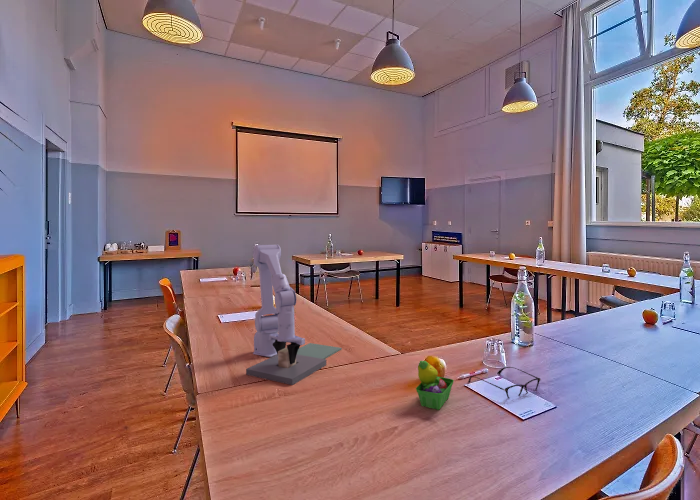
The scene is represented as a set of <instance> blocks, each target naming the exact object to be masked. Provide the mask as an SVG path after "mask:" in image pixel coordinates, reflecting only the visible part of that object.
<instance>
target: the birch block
mask: <svg viewBox="0 0 700 500" xmlns="http://www.w3.org/2000/svg"><path fill="white" fill-rule="evenodd" d="M277 355H278V367H283V368H289V367H291V366H293V365H295V364H296V359H295V363H293V364H290V361H289V352H288V349H287V347H286V348H284V349H282V350H280V351H278V354H277Z"/></svg>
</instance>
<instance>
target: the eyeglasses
mask: <svg viewBox="0 0 700 500" xmlns="http://www.w3.org/2000/svg"><path fill="white" fill-rule="evenodd" d="M510 368H511V369H515V370H518V371H520V372H522V373H524V374H527V375H528V376H531V377H533V379H531V380H529V381H528V382H525V384H513V385H511V386H507V387H505V388H503V387H500V386H498V385H496V384H493V383H491V382H489V381H486V380H484V379H482V378H480V377H477V376H473V375H472V376H470V377H469V378H468V382H470V383H471V380H472V378H476V379H479V380H481V381H482V382H485V383H487V384H490V385H491V386H494V387H495V388H498V389H500V390H502V391H504V392H505V393H506V397H507V398H508V399H510V397H509V390H510V389H512V388H513V387H520V390H519V394H518V396H521V394H522V393H523V392H522V391H523V389H524V391H525V392H526V394H528V393H529V391H528V388H527V387H528V385H529V384H530V383H532V382H534V381H537V383H536V387H535V389H534V390H535V391H537V389H538V387H539V384H540V382H541V378H540V377H538V376H535V375H533V374H530V373H528V372H526V371H523V370H521V369H519V368H517V367H513V366H504V367H502V368H500V369H499V370H498V371H497V374H498V375H499V374H502V372H503V370H505V369H510Z"/></svg>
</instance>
